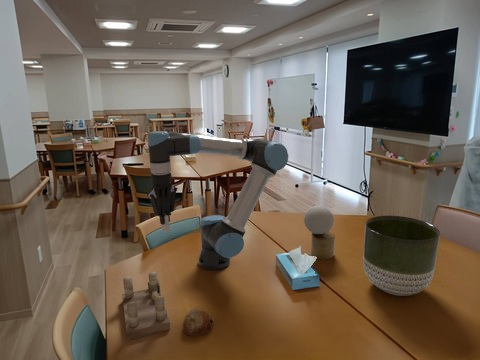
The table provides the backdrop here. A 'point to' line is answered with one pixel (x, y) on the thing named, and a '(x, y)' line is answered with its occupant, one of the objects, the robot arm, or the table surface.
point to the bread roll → (197, 322)
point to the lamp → (320, 231)
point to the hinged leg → (153, 284)
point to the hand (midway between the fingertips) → (165, 230)
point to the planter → (400, 253)
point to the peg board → (143, 311)
